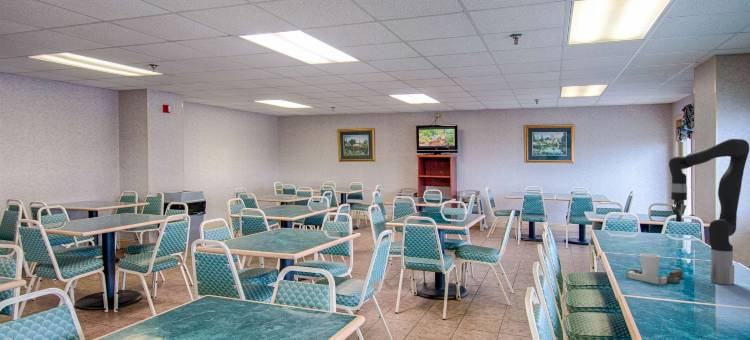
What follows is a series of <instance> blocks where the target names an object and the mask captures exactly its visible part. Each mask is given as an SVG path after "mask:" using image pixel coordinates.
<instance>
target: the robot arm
mask: <svg viewBox="0 0 750 340" xmlns="http://www.w3.org/2000/svg"><path fill="white" fill-rule="evenodd" d="M749 154H750V144H749V142H748V141H747V140H746V139H743V138H742V139H741V138H729V139H726V140H723V141H721V142H719V143H718V144H716V145H713V146H710V147H707V148H705V149H701V150H700V149H699V150H698V151H694V152H690V153H688V154H687V155H685V156H673V157H671V158H670V159H669V162H668V167H669V170H670V175H671V188H670V189H671V190H670V191H671V192H670V194H671V196H670V197H671V198H670V199H671V200H673V205H671V209H672V211H673V215H675V220H676V221H675V222H677V223H678V222H679V223H681V222H682V216H683V215H684V213H685V210H686V208H687V205H686V204H685V201H686V200H688V186H687V181H688V180H687V179H688V178H687V174H685V173H684V172H682V170H685V169H689V168H691V167H693V166H697V165H702V164H704V163H707V162H709V161H711V160H713V159H717V158H722V157H724V158H725V157H730V160H729V165H728V167H727V169H726V170H725V172H724V173H723V174H722V176H721V178H720V180H719V184H718V189H717V197H718V201H719V205H720V213H719V219H714V220H712V221H711V222H710V223H709V225H708V239H709V241H708V242H709V245H710V282H711V283H714V284H719V285H727V286H730V285H733V284H735V264H734V262H733V261H734V256H733V255H734V247H733V246H734V245H732V244H731V243H730V238H729V237H731V236H733V235H734V234H735V233H736V231H737V215H738V207H739V202H740V195H741V190H742V183H743V176H744V172H745V171H744V170H745V166H746V163H747V160H748V156H749ZM733 264H734V265H733Z"/></svg>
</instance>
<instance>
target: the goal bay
mask: <svg viewBox="0 0 750 340" xmlns="http://www.w3.org/2000/svg"><path fill="white" fill-rule="evenodd" d="M625 277H626V279H627V278H628V279H631V280H636V281H642V282H645V283H646V282H647V283H651V284H655V285H664V284H668V283H667V277H666V276H661V277H658V276H657V277H652V276H647V275H642V274H637V273H635V271H629V272H628V271H626V273H625Z"/></svg>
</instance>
